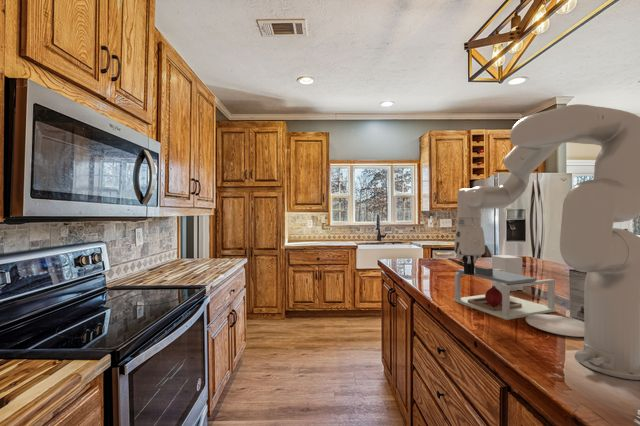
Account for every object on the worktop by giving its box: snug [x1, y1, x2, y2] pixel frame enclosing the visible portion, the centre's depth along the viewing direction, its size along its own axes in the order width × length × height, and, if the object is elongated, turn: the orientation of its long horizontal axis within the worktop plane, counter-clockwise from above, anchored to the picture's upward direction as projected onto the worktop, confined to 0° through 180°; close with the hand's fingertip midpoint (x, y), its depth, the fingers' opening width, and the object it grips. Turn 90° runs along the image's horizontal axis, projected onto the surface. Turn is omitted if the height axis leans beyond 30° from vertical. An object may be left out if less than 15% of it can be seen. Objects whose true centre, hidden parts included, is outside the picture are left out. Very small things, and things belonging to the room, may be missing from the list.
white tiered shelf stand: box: [453, 269, 557, 321], centre depth 116 cm, size 24×23×11 cm
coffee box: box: [568, 268, 587, 321], centre depth 103 cm, size 9×6×16 cm
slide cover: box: [456, 265, 537, 284], centre depth 115 cm, size 13×22×4 cm, turn 20°
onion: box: [484, 285, 502, 307], centre depth 115 cm, size 6×6×8 cm
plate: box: [525, 313, 584, 338], centre depth 95 cm, size 17×17×1 cm
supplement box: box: [491, 254, 524, 292], centre depth 142 cm, size 9×9×15 cm
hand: (469, 274), depth 111 cm, fingers closed
